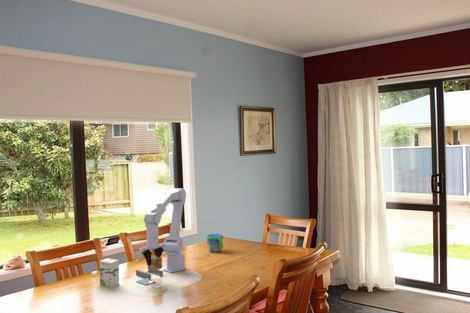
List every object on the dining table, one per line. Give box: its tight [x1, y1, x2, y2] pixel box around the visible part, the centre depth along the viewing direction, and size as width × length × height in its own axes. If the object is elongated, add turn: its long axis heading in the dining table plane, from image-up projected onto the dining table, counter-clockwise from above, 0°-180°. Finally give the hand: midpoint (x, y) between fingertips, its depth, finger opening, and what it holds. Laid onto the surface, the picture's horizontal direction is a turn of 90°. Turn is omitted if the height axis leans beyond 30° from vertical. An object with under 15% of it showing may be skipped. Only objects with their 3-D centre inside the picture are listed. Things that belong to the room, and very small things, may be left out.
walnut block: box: [147, 255, 163, 270], centre depth 206 cm, size 4×6×5 cm
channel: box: [135, 267, 164, 280], centre depth 217 cm, size 8×12×2 cm
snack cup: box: [205, 233, 224, 254], centre depth 264 cm, size 16×10×10 cm
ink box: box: [99, 257, 120, 288], centre depth 204 cm, size 9×5×12 cm, turn 60°
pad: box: [135, 278, 151, 286], centre depth 206 cm, size 6×8×1 cm
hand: (153, 264), depth 207 cm, fingers closed on walnut block, 4 cm apart
